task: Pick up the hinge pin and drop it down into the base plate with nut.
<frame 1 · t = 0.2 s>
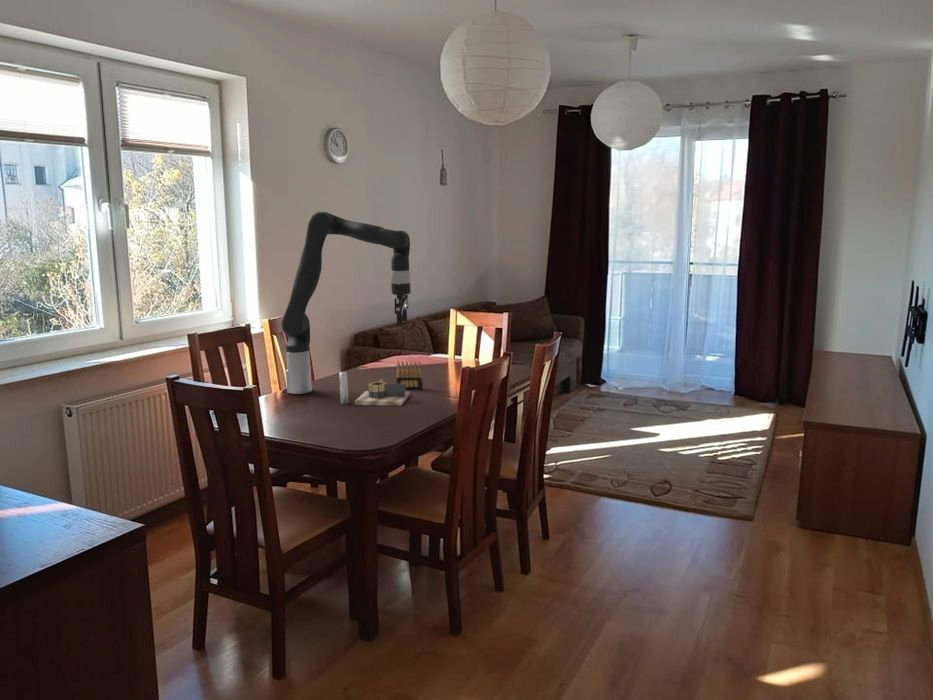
hand: (402, 322, 292), 29 cm above the table, fingers open, 8 cm apart
ammunition clip: (409, 389, 304), on the table
base plate with nut: (383, 399, 287), on the table
hinge pin: (344, 402, 284), on the table
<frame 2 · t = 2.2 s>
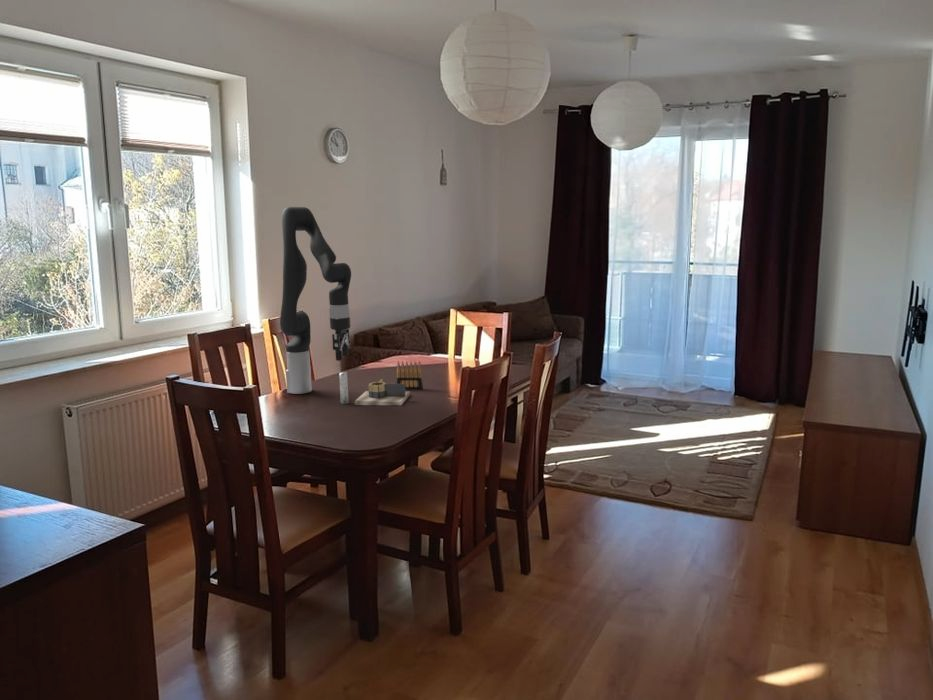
hand: (342, 358, 281), 18 cm above the table, fingers open, 8 cm apart
nothing on the table moved.
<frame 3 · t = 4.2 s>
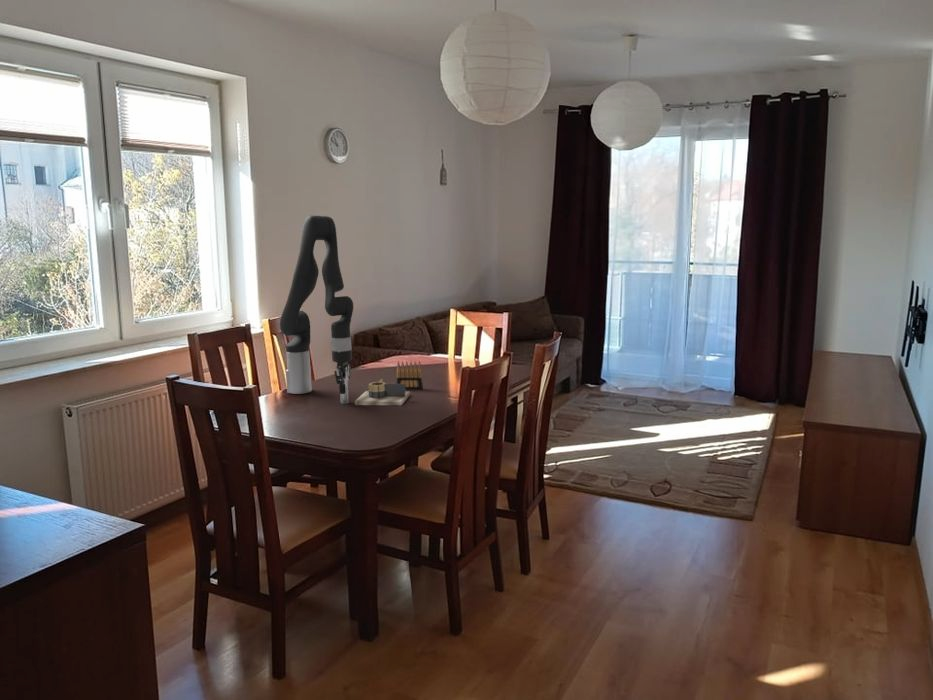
hand: (344, 392, 283), 4 cm above the table, fingers closed on hinge pin, 3 cm apart
hinge pin: (344, 402, 284), on the table, touching gripper
everything else where it was.
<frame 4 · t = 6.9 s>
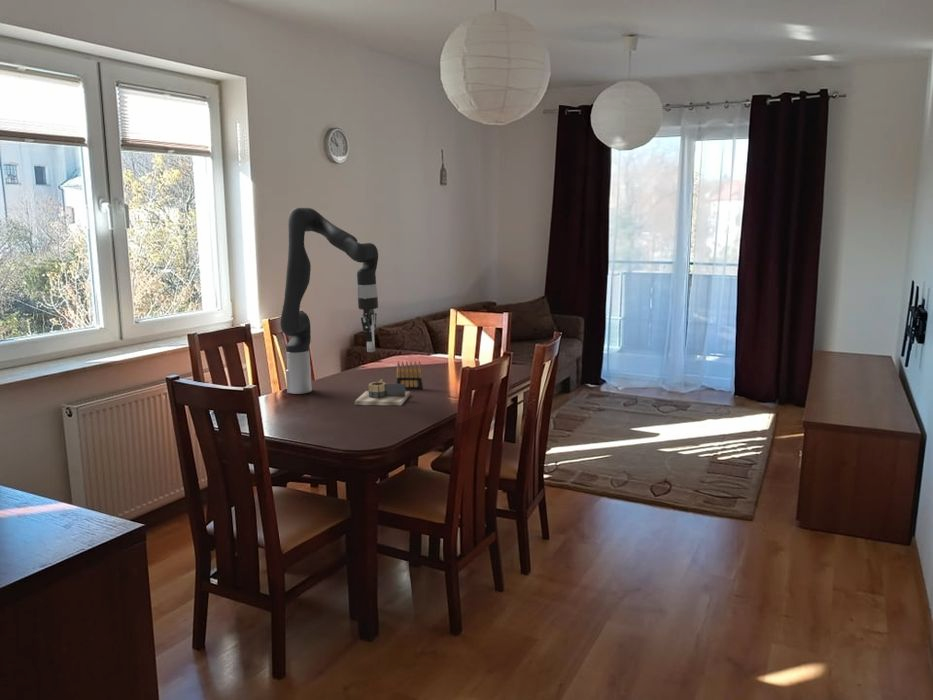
hand: (370, 340, 282), 24 cm above the table, fingers closed on hinge pin, 3 cm apart
hinge pin: (371, 351, 283), point 20 cm above the table, touching gripper
everything else where it was.
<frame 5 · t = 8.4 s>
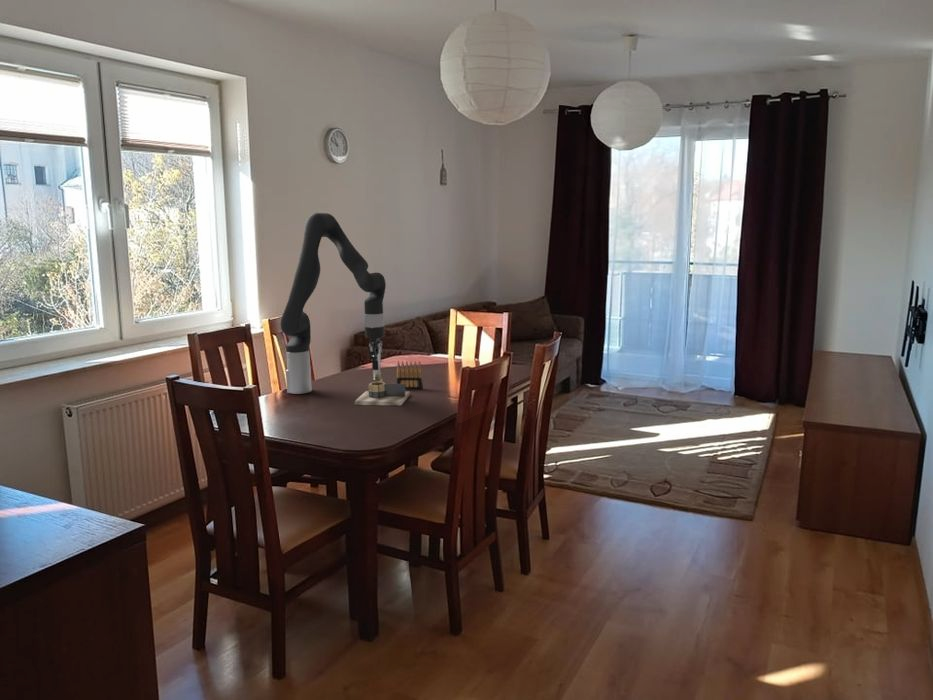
hand: (376, 368, 285), 12 cm above the table, fingers closed on hinge pin, 3 cm apart
hinge pin: (377, 379, 286), point 8 cm above the table, touching gripper
everything else where it was.
when the fingers open (8 cm above the table, at t = 9.6 s): hinge pin drops 2 cm, resting on base plate with nut.
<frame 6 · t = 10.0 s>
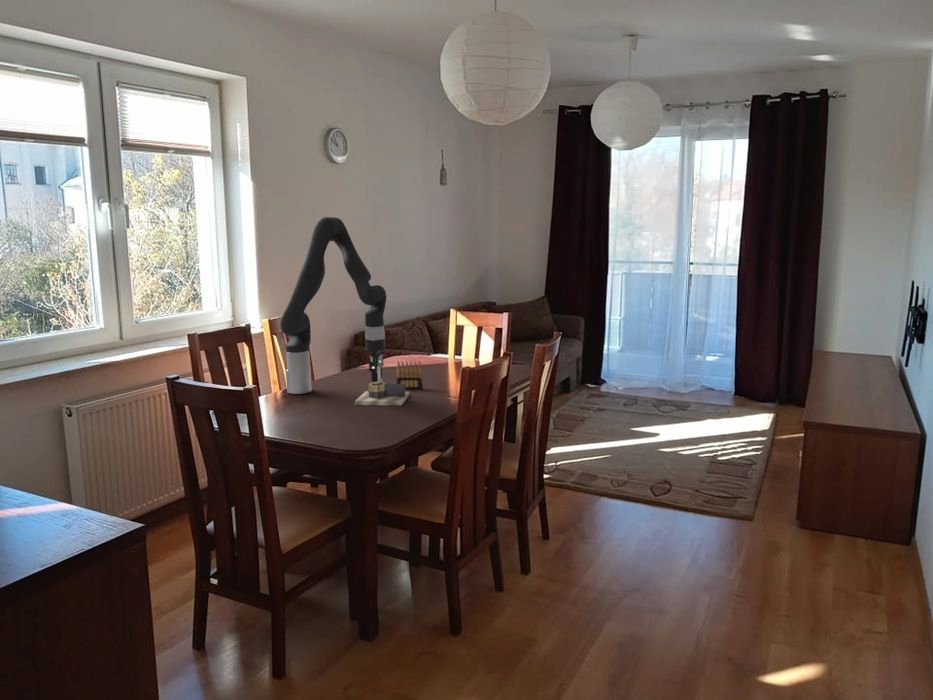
hand: (377, 379, 286), 8 cm above the table, fingers open, 6 cm apart
hinge pin: (377, 396, 287), point 2 cm above the table, touching base plate with nut
everything else where it was.
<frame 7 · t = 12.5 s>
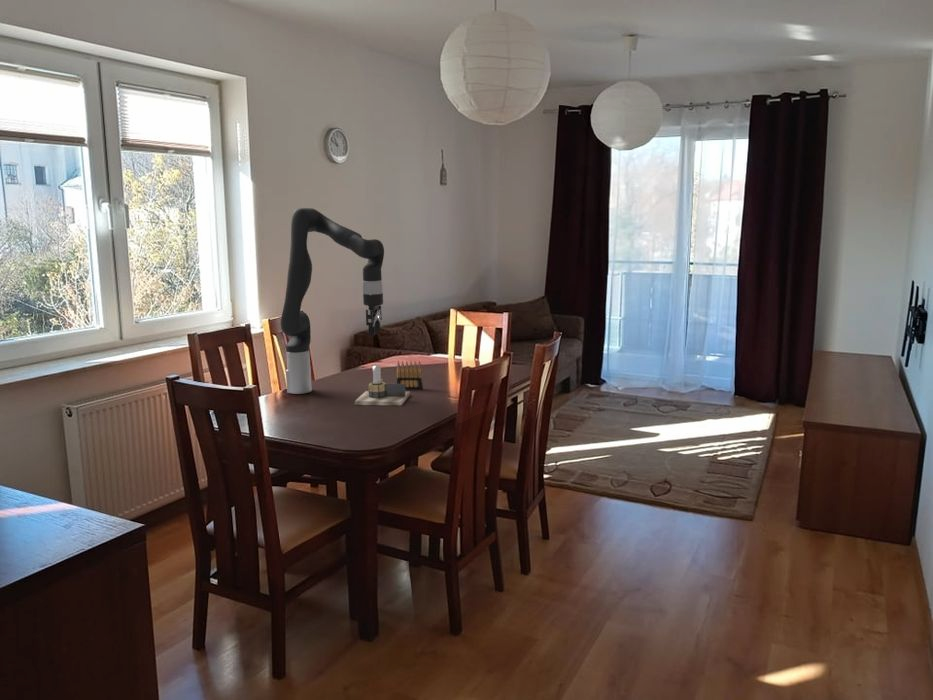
hand: (374, 334, 283), 26 cm above the table, fingers open, 8 cm apart
nothing on the table moved.
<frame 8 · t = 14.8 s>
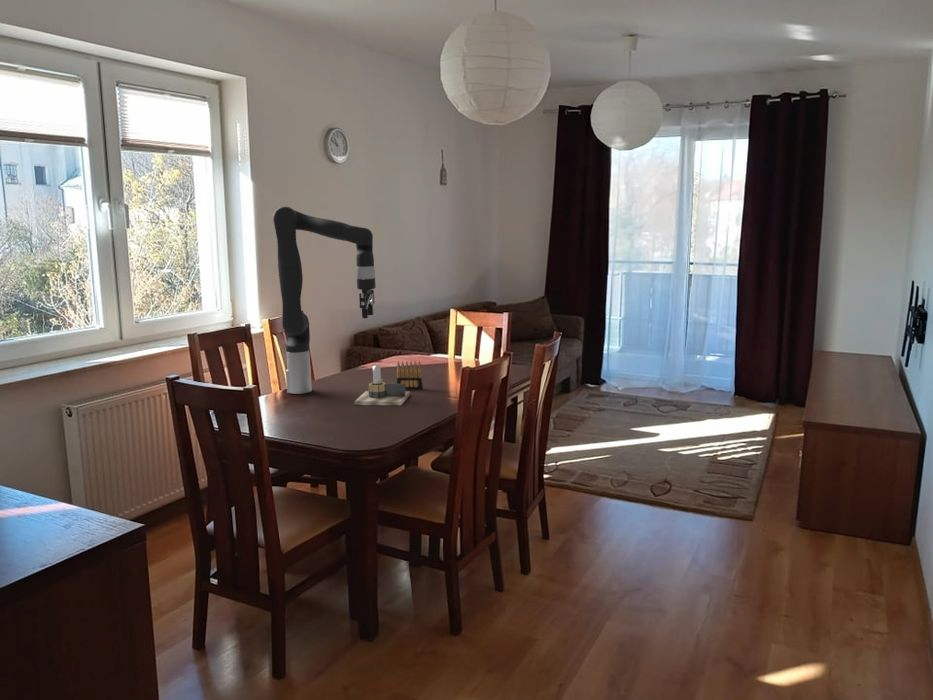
hand: (367, 316, 302), 30 cm above the table, fingers open, 8 cm apart
nothing on the table moved.
at the end: hinge pin 0.1 cm from the target spot on the base plate with nut, point 1.5 cm above the base plate with nut's base; hinge pin tilted 0°; the gripper is holding nothing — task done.
